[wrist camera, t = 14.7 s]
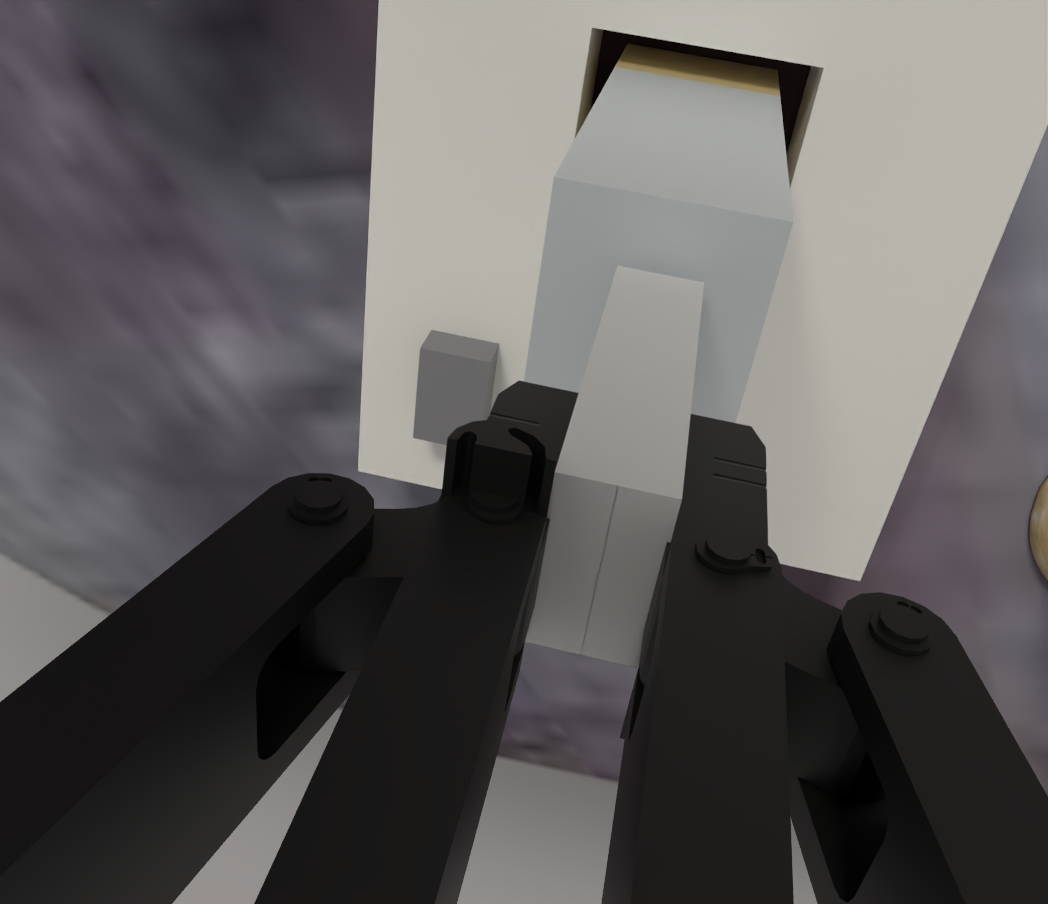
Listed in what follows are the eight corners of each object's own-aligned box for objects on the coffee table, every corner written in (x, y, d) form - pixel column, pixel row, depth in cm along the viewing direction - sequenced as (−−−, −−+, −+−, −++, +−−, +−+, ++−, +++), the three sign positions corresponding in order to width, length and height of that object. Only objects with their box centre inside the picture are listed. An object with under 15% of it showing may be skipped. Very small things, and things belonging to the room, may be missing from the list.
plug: (627, 43, 27) (554, 176, 17) (777, 69, 26) (793, 222, 16) (596, 222, 29) (516, 428, 19) (731, 248, 29) (721, 471, 19)
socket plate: (437, -401, 23) (379, -442, 19) (1172, -300, 21) (1255, -324, 18) (386, 424, 35) (345, 491, 31) (852, 524, 33) (863, 606, 30)
